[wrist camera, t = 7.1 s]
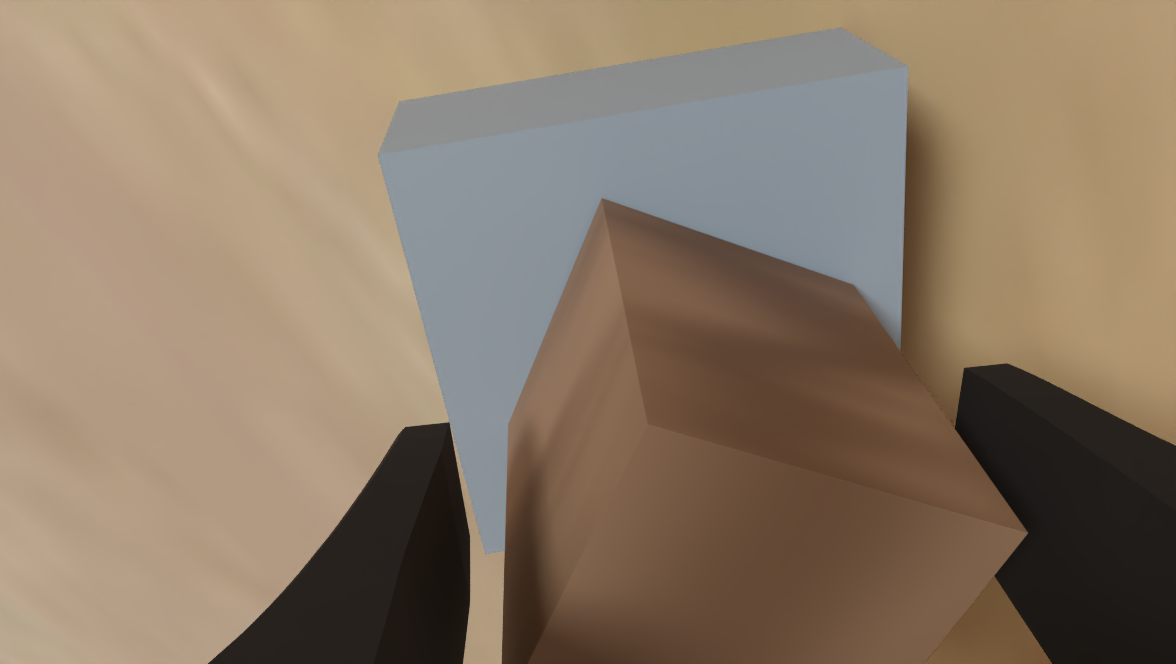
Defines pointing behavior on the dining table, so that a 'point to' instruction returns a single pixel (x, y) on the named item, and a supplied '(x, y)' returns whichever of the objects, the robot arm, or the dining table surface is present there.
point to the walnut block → (732, 470)
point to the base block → (635, 198)
